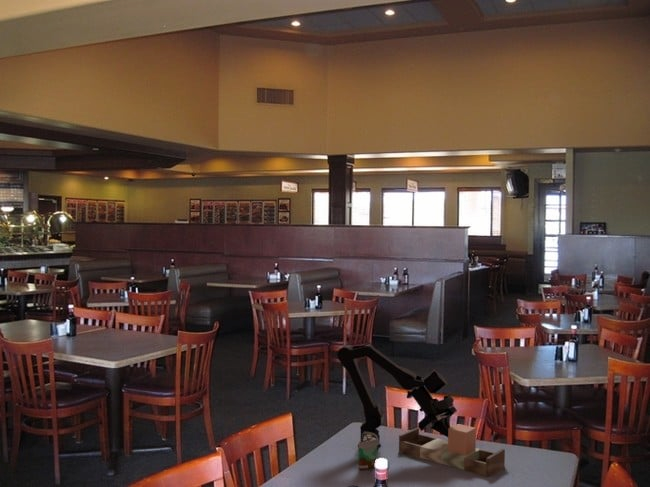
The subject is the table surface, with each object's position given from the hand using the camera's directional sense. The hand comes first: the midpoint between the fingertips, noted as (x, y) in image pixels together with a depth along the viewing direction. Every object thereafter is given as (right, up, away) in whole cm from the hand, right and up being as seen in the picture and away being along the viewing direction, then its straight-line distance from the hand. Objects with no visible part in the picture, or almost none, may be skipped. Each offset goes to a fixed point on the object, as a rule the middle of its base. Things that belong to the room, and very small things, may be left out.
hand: (452, 438), depth 227 cm
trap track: (-1, -8, +1) cm, 8 cm away
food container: (-30, -8, -7) cm, 31 cm away
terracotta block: (+3, -4, -2) cm, 5 cm away
